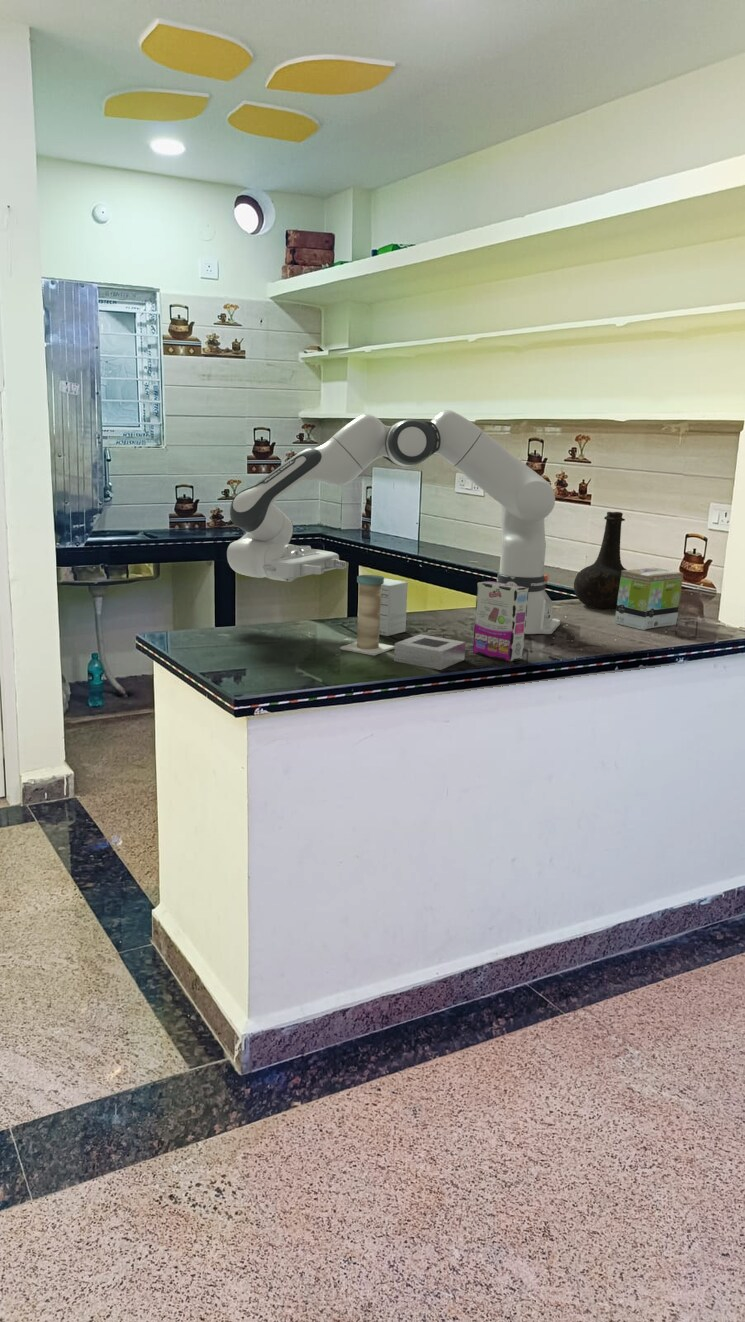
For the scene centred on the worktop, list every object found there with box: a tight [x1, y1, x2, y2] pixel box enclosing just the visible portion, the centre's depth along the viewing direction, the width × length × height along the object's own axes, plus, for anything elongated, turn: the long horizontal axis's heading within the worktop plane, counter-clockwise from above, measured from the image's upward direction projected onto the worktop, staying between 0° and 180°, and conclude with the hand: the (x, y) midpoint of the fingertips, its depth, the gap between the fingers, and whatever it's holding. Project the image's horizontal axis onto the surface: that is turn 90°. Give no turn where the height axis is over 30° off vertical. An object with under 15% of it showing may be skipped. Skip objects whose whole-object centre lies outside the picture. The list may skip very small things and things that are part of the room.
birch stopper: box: [356, 574, 385, 649], centre depth 208 cm, size 6×6×16 cm
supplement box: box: [379, 577, 409, 637], centre depth 226 cm, size 7×7×13 cm
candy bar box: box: [472, 580, 529, 663], centre depth 207 cm, size 11×5×16 cm, turn 45°
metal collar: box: [393, 634, 466, 671], centre depth 202 cm, size 11×11×4 cm
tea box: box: [614, 567, 684, 631], centre depth 248 cm, size 15×10×15 cm, turn 129°
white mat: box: [340, 641, 395, 656], centre depth 210 cm, size 9×9×1 cm
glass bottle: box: [573, 511, 628, 611], centre depth 268 cm, size 18×18×28 cm
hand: (333, 567), depth 213 cm, fingers open, 8 cm apart
